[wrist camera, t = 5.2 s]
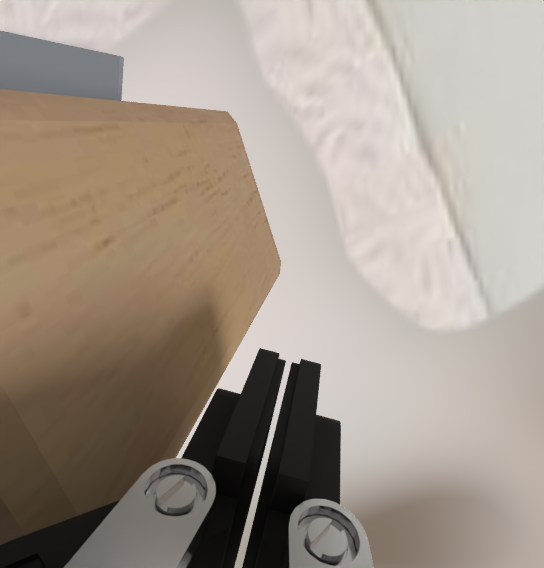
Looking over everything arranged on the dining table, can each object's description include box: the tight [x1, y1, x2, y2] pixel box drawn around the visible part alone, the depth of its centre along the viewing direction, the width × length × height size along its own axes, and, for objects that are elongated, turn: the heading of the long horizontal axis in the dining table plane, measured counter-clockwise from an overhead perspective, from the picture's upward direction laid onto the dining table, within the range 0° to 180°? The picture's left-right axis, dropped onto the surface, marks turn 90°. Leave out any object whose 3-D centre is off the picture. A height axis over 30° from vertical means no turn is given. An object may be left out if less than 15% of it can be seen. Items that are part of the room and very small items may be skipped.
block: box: [0, 89, 281, 545], centre depth 16 cm, size 10×10×20 cm
